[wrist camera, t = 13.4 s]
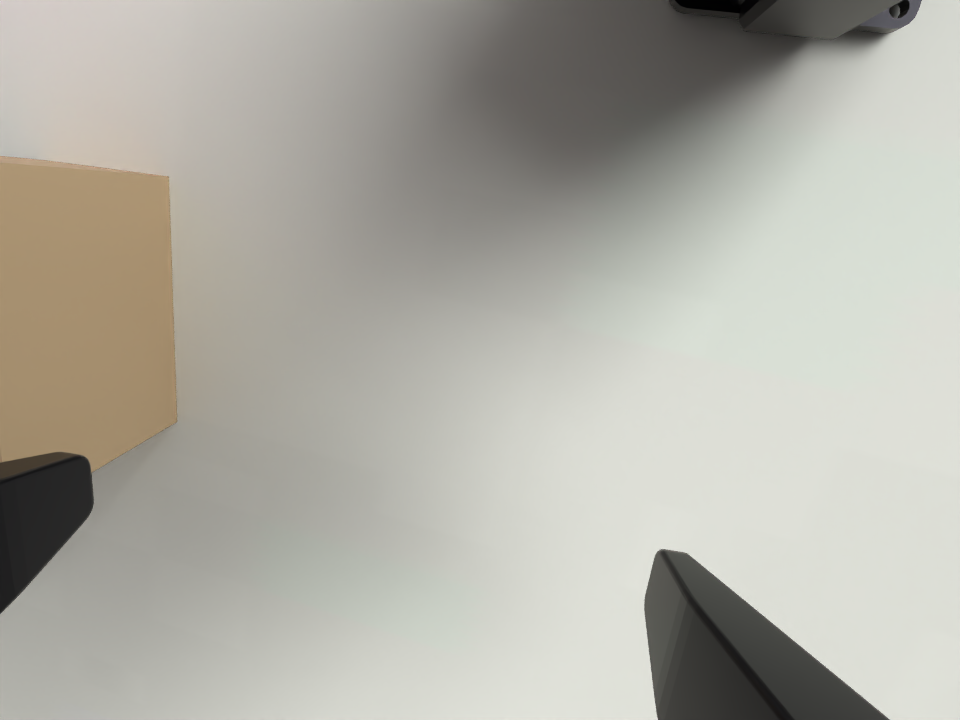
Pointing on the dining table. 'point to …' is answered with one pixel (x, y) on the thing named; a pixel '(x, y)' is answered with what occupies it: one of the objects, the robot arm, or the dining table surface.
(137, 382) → the carton
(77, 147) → the dining table surface
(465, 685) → the dining table surface
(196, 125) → the dining table surface
